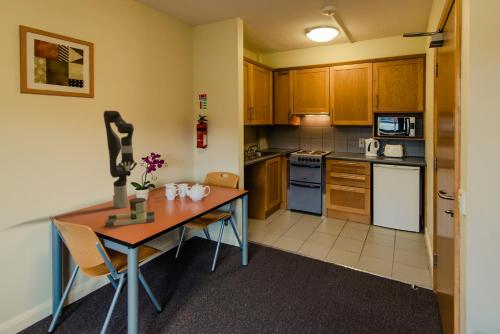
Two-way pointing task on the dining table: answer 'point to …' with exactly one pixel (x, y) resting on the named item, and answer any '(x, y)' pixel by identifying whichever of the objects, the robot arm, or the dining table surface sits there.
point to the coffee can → (138, 208)
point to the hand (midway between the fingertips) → (128, 176)
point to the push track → (113, 221)
